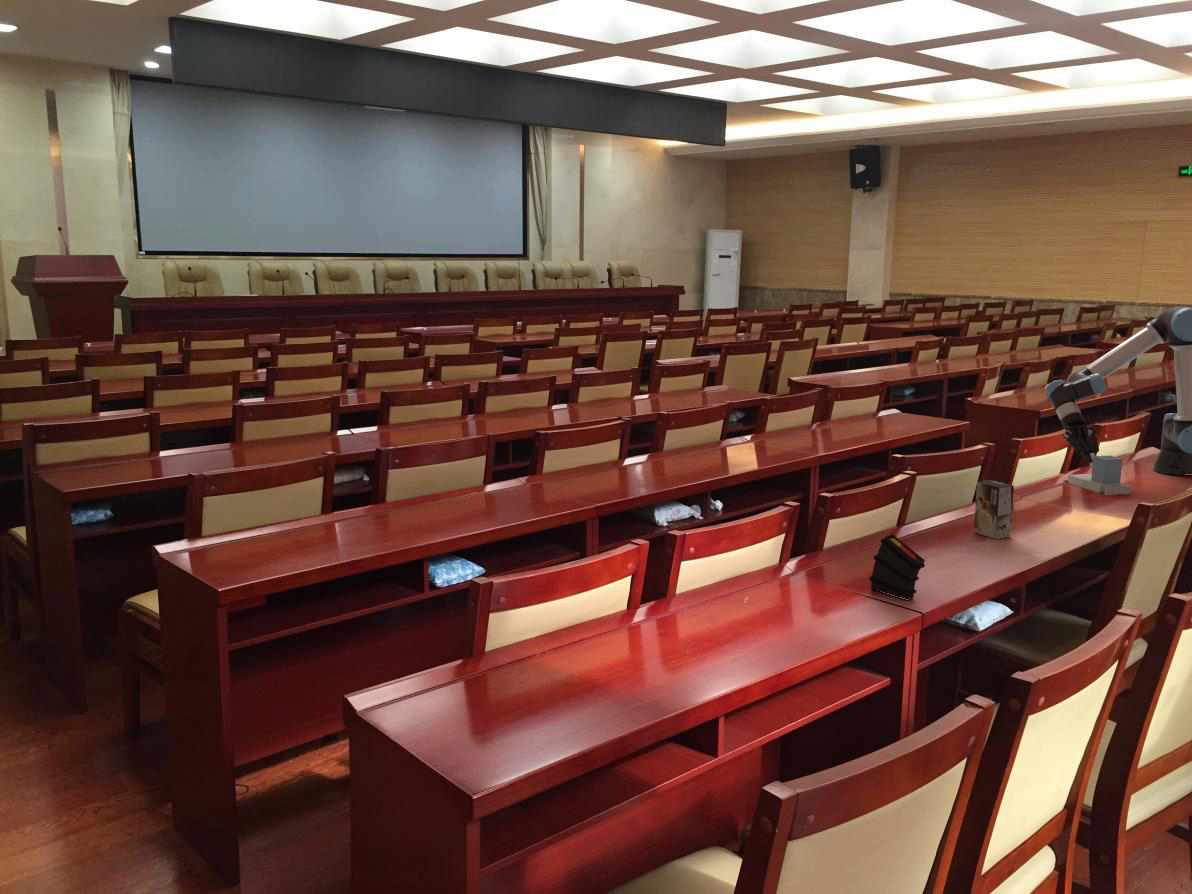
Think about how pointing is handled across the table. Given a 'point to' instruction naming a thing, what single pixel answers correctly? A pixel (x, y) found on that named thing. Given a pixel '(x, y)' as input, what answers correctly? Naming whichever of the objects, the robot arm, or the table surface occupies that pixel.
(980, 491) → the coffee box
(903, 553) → the magazine
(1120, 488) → the trap deck
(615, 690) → the table surface
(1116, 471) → the block
